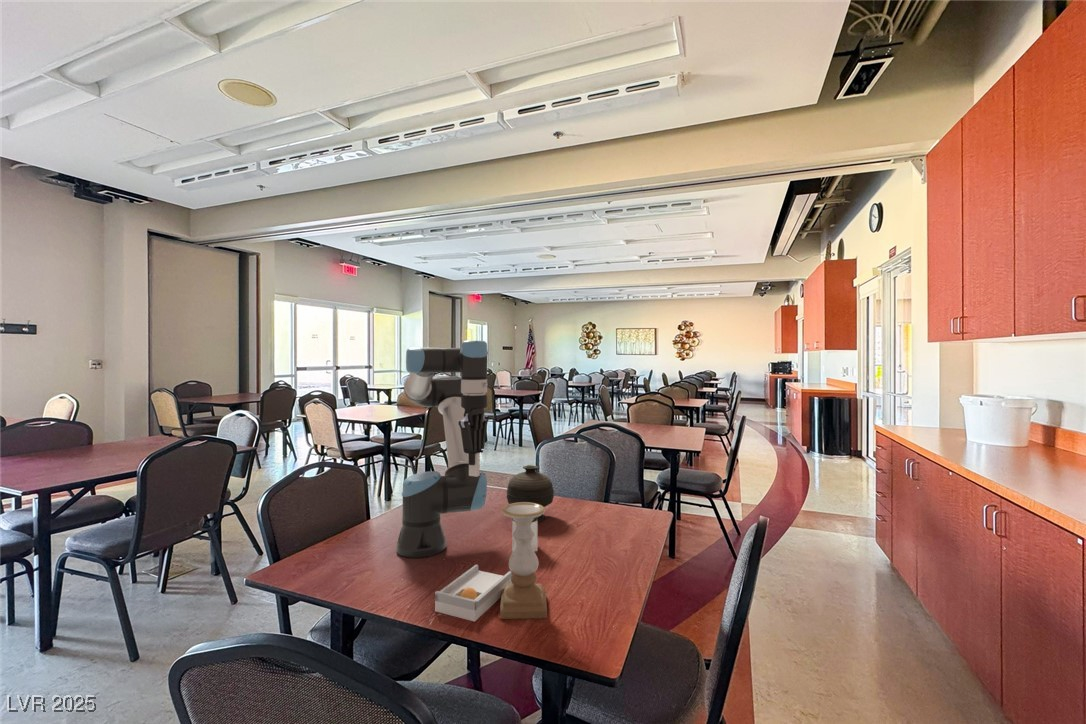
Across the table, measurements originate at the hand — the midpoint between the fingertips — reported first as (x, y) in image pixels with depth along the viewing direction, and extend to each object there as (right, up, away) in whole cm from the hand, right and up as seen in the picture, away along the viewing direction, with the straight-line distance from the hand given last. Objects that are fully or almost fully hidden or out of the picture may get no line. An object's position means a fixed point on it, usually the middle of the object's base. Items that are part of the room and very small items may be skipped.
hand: (474, 475), depth 137 cm
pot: (+15, -26, +42) cm, 51 cm away
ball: (+2, -24, -22) cm, 33 cm away
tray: (+3, -26, -19) cm, 32 cm away
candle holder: (+15, -27, -23) cm, 38 cm away
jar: (+14, -26, +13) cm, 32 cm away
